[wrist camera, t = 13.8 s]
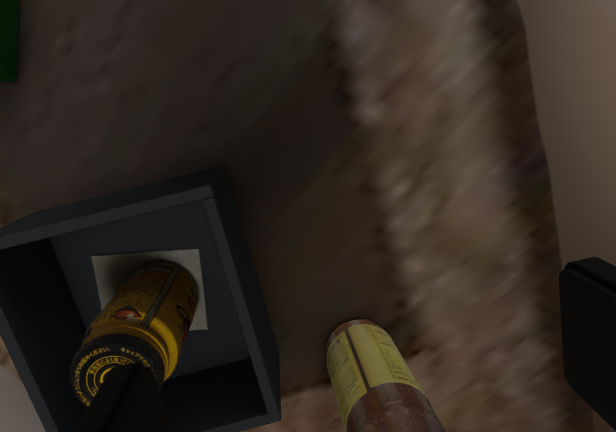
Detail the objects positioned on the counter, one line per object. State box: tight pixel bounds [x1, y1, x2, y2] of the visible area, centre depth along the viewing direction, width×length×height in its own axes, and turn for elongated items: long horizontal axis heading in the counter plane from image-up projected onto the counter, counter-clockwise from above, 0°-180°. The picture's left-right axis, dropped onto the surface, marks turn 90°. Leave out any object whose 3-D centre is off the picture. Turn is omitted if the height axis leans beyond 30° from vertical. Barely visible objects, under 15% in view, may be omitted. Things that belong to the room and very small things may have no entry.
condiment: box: [70, 249, 208, 408], centre depth 31 cm, size 7×8×12 cm
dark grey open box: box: [0, 166, 281, 432], centre depth 33 cm, size 18×16×9 cm
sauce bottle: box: [325, 319, 446, 432], centre depth 31 cm, size 7×6×20 cm
